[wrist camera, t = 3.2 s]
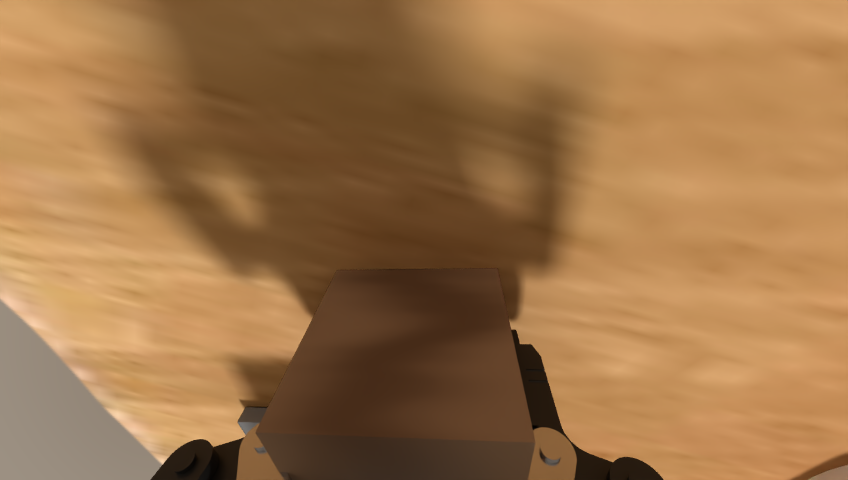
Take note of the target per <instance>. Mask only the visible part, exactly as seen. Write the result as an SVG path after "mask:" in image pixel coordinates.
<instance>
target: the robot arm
mask: <svg viewBox="0 0 848 480" xmlns="http://www.w3.org/2000/svg"><path fill="white" fill-rule="evenodd" d="M511 332H512V336H513V341H514V346H515V350H516V355H517V360H518V364H519V369H520V373H521V378H522V383H523V387H524V392H525V396H526V401H527V406H528V410H529V415H530V419H531V424H532V429H533V433H534V438H535V442H536V443H535V448H534V452H533V457H532V462H531V467H530V471H529V476H528V480H663V478H662V477H661V476H660V475H659V474H658V473H657V472H656V471H655V470H654V469H653V468H652V467H650V466H649V465H648V464H646V463H644V462H643V461H640V460H638V459H635V458H631V457H622V458H619V459H617V460H615V461H614V462H610V461H608V460H605V459H602V458H599V457H597V456H594V455H591V454H589V453H587V452H584V451H583V450H581V449H579V448H578V447H577V446H575V445H574V444H573V443H572V442H571V441H570V440H569V438H568V437H567V436H566V434H565V433H564V431H563V429H562V427H561V424H560V420H559V417H558V414H557V410H556V407H555V403H554V400H553V397H552V393H551V390H550V386H549V383H548V380H547V376H546V373H545V371H544V366H543V363H542V359H541V356H540V355H539V353H538V352H537V351H536V350H535V348H534V347H533V346H532V345H531V344H520V343H519V339H518V334H517V331H516V330H511ZM259 424H260V423H259ZM259 424H257V425H256V426H254V427H253V428H252V429H251V430H250V431H249V432H248V433H247V434H246V436H245V437H244V438H241V439H239V440H235V441H232V442H229V443H225V444H222V445H219V446H215V447H213V446H212V445H211V444H210V442H208V441H207V440H203V439H198V440H193V441H191V442H188V443H186V444H184V445H183V446H181V447H180V448H178V449H177V450H176V451H175V452H174V453H172V454H171V455H170V457H169V458H168V459H167V460H166V461H165V463H164V464H163V465H162V466H161V467H160V469H159V470H158V471H157V472H156V474H155V475H154V476H153V477H152V479H151V480H292V478H291V477H290V475H289V473H288V472H279V471H278V469H277V468H276V466H275V464H274V463H273V461H272V459H271V458H270V456H269V454H268V453H267V451H266V449H265V448H264V446H263V444H262V443H261V441H260V439H259V438H258V436H257V435H256V433H255V432H256V430H257V428H258V426H259Z"/></svg>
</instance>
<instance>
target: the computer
mask: <svg viewBox="0 0 848 480" xmlns="http://www.w3.org/2000/svg"><path fill="white" fill-rule="evenodd" d="M808 480H848V465H845V466H841V467H838V468H835V469H831V470H828V471H825V472H823V473H820V474H818V475H816V476H814V477H812V478H810V479H808Z"/></svg>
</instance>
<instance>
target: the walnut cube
mask: <svg viewBox="0 0 848 480" xmlns="http://www.w3.org/2000/svg"><path fill="white" fill-rule="evenodd" d="M255 433H256V435H257V436H258V438H259V439H260V441H261V443H262V444H263V446H264V448H265V449H266V451H267V453H268V454H269V456H270V458H271V459H272V461H273V463H274V464H275V466H276V468H277V469H278V471H279V472H288V473H289V475H290V477H291V478H292V480H528V476H529V471H530V467H531V462H532V457H533V452H534V448H535V443H536V442H535V438H534V433H533V429H532V424H531V419H530V415H529V410H528V406H527V401H526V396H525V392H524V387H523V383H522V378H521V373H520V369H519V364H518V360H517V355H516V350H515V346H514V341H513V336H512V332H511V327H510V323H509V318H508V313H507V309H506V304H505V300H504V295H503V290H502V286H501V281H500V277H499V272H498V268H473V269H389V270H337V271H336V273H335V275H334V277H333V279H332V281H331V283H330V285H329V287H328V289H327V291H326V293H325V295H324V297H323V299H322V301H321V303H320V305H319V307H318V309H317V311H316V313H315V315H314V317H313V319H312V321H311V323H310V325H309V327H308V329H307V331H306V333H305V335H304V337H303V339H302V341H301V343H300V345H299V347H298V349H297V350H296V352H295V354H294V356H293V358H292V360H291V362H290V364H289V366H288V368H287V370H286V372H285V374H284V376H283V378H282V380H281V382H280V384H279V386H278V388H277V390H276V392H275V394H274V396H273V398H272V400H271V402H270V404H269V406H268V408H267V410H266V412H265V414H264V416H263V418H262V420H261V422H260V424H259V426H258V428H257V430H256V432H255Z"/></svg>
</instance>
